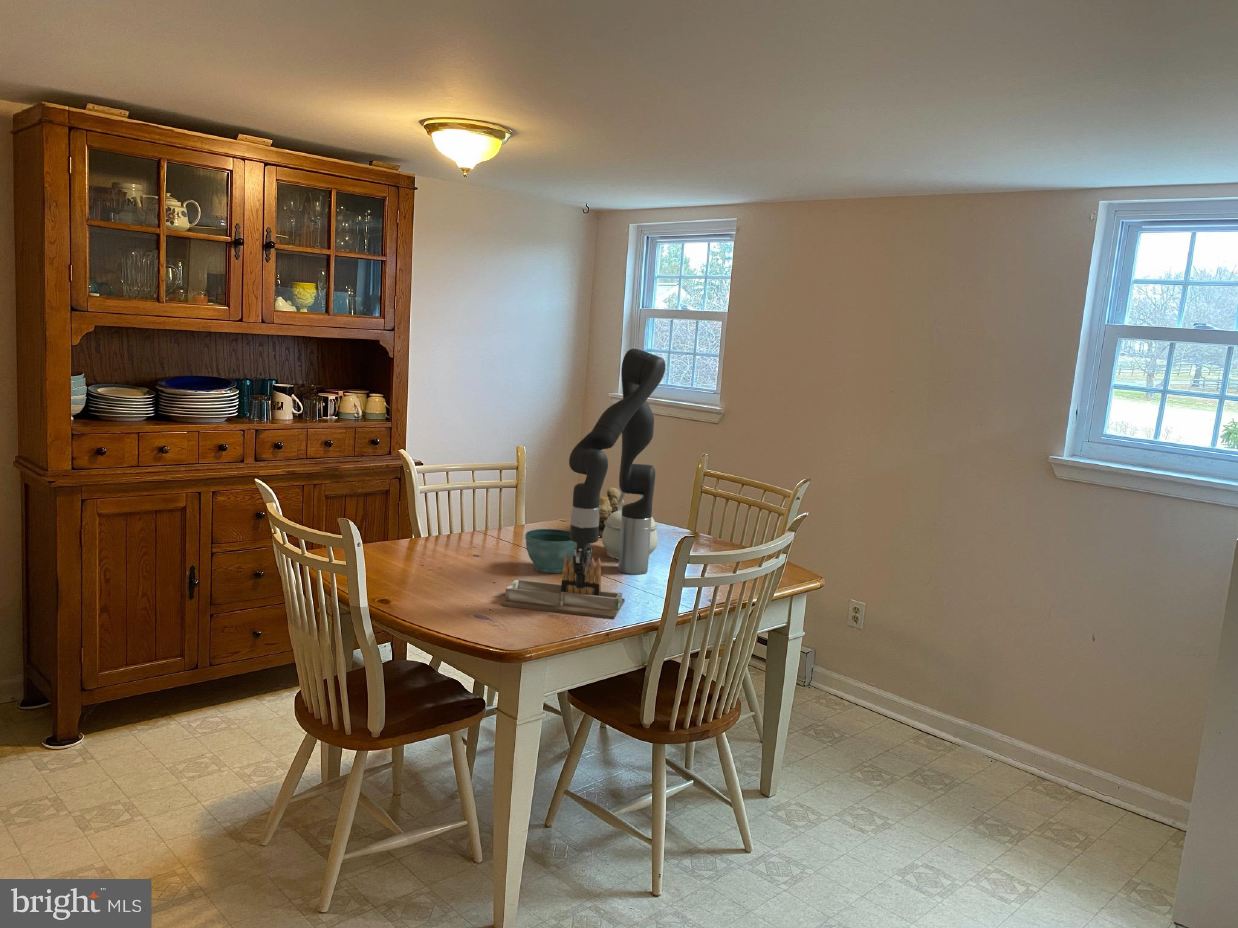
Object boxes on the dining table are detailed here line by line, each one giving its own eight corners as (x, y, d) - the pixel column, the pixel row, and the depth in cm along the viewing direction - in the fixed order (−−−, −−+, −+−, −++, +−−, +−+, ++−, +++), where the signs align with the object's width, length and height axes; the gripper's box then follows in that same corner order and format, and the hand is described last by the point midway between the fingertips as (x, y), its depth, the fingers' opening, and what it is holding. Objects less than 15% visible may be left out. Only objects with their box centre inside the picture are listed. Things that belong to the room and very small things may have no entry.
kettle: (667, 563, 296) (673, 487, 292) (614, 565, 289) (620, 487, 285) (637, 544, 319) (642, 474, 315) (588, 546, 312) (592, 474, 308)
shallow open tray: (518, 589, 256) (519, 576, 256) (624, 601, 252) (625, 588, 251) (501, 605, 241) (502, 591, 240) (614, 618, 236) (615, 604, 235)
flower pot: (569, 579, 270) (571, 543, 268) (516, 573, 273) (518, 537, 271) (582, 566, 286) (584, 532, 284) (532, 560, 289) (534, 526, 287)
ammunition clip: (559, 598, 246) (562, 554, 244) (561, 596, 247) (564, 553, 246) (599, 602, 244) (601, 558, 242) (600, 600, 246) (603, 557, 244)
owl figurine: (602, 526, 344) (605, 481, 342) (631, 531, 340) (634, 486, 338) (582, 535, 328) (585, 488, 325) (613, 540, 323) (616, 492, 321)
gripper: (576, 516, 250) (573, 578, 252) (564, 527, 236) (561, 592, 239) (603, 519, 248) (600, 581, 251) (593, 530, 235) (589, 595, 238)
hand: (581, 586), depth 245 cm, fingers closed on ammunition clip, 2 cm apart
